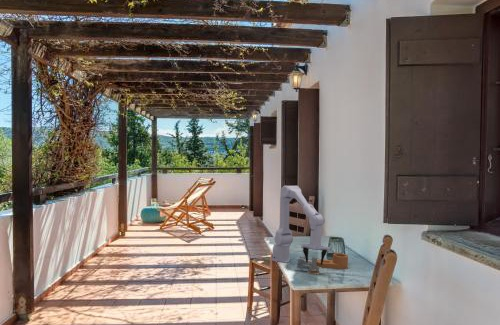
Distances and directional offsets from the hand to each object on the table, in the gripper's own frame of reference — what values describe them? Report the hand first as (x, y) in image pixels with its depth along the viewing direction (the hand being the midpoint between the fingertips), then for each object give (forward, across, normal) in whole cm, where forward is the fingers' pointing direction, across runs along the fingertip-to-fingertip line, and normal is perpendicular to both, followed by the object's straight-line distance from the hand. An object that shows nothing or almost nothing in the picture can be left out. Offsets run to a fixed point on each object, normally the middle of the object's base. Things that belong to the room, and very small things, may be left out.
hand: (314, 263), depth 210 cm
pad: (+5, 0, 0) cm, 5 cm away
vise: (+5, -4, +7) cm, 10 cm away
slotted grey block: (+4, 0, 0) cm, 4 cm away
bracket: (+5, +8, +16) cm, 19 cm away
